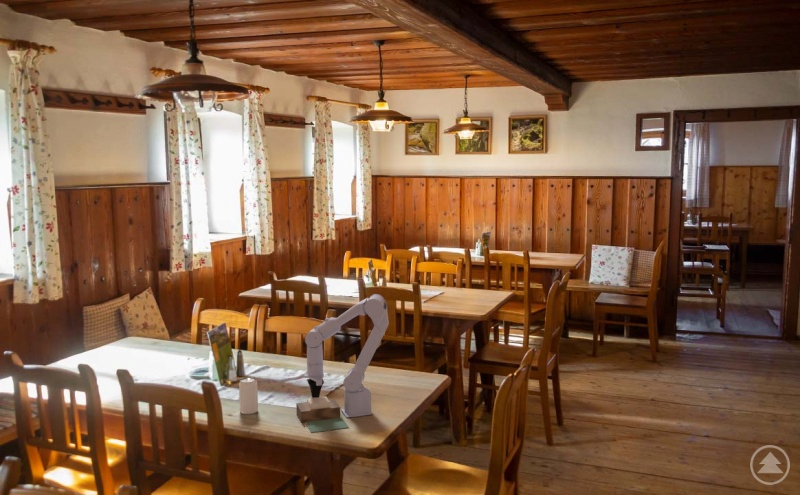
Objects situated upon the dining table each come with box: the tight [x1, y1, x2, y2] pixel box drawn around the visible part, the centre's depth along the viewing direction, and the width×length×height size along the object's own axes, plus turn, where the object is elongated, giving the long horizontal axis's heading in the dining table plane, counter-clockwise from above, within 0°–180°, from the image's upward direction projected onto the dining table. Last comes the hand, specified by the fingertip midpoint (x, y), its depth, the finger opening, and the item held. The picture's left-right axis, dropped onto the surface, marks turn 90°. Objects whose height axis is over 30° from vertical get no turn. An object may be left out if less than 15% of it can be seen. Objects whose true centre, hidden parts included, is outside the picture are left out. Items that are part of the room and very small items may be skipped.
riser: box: [295, 398, 341, 424], centre depth 239 cm, size 14×9×4 cm, turn 109°
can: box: [238, 376, 259, 416], centre depth 243 cm, size 6×6×12 cm
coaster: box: [306, 396, 330, 410], centre depth 238 cm, size 7×6×2 cm
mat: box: [305, 416, 350, 434], centre depth 231 cm, size 13×10×1 cm
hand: (315, 398), depth 243 cm, fingers closed
